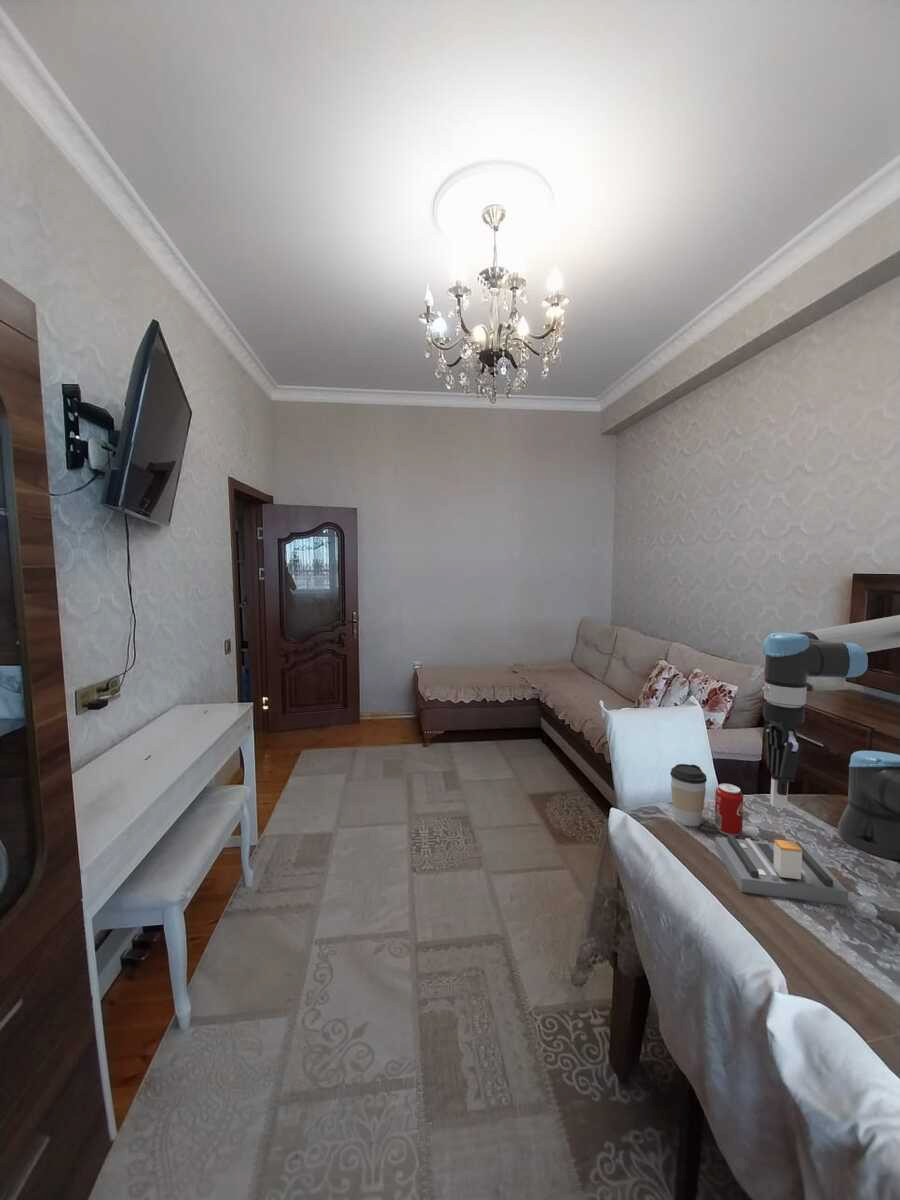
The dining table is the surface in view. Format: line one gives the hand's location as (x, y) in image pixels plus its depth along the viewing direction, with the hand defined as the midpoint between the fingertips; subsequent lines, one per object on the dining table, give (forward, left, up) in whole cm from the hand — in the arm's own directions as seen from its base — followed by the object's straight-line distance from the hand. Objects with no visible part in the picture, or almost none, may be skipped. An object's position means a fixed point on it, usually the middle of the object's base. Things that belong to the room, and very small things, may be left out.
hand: (778, 805), depth 104 cm
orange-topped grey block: (0, +4, -13) cm, 14 cm away
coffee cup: (+13, -22, -17) cm, 31 cm away
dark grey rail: (+7, -1, -17) cm, 18 cm away
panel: (0, -1, -17) cm, 17 cm away
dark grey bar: (-7, -1, -17) cm, 18 cm away
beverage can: (+4, -18, -17) cm, 25 cm away
